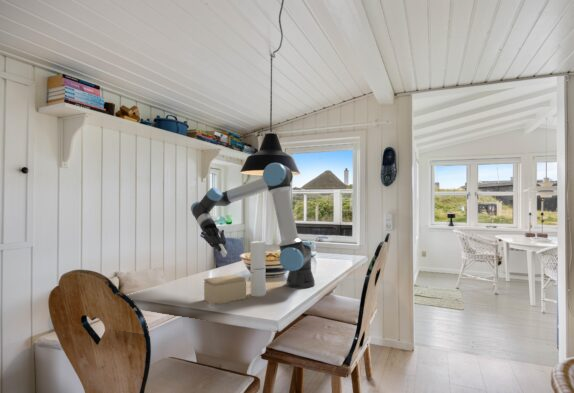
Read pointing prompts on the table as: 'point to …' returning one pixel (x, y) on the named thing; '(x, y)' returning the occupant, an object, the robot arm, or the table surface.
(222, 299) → the box
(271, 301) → the table surface
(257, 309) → the table surface
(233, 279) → the lid
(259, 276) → the cylindrical container
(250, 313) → the table surface
